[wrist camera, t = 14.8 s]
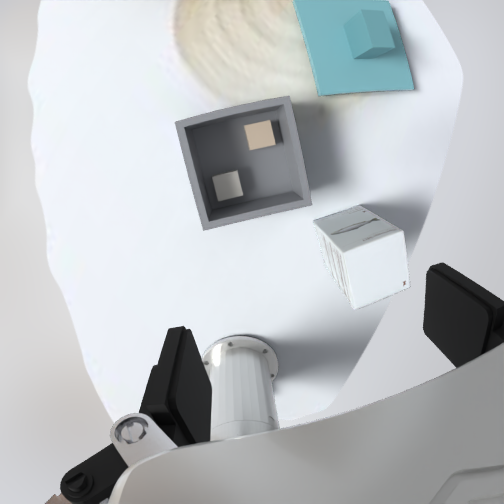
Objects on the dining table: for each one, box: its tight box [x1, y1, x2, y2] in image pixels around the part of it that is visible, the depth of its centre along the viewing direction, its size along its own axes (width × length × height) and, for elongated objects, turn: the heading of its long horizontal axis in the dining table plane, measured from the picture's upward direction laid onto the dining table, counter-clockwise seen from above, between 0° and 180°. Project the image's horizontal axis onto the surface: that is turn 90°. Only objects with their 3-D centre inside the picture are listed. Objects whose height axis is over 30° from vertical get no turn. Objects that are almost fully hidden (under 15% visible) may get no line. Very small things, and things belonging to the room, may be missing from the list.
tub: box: [175, 96, 312, 231], centre depth 34 cm, size 12×12×7 cm
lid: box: [293, 0, 414, 96], centre depth 29 cm, size 14×14×8 cm
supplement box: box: [313, 205, 410, 310], centre depth 36 cm, size 7×7×13 cm
